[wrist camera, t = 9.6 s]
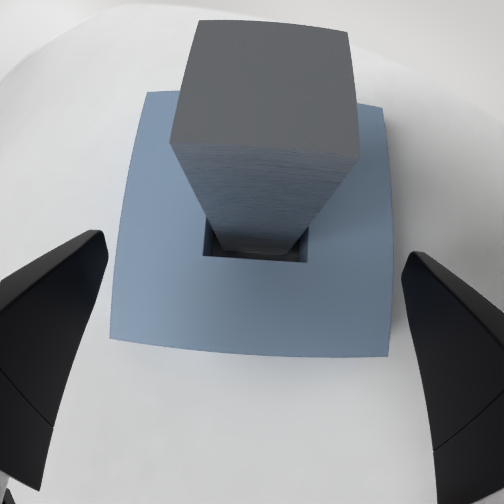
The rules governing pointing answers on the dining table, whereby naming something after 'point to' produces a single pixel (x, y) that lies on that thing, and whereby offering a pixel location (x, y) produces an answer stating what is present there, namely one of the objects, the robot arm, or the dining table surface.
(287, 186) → the grey tapered peg
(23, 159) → the dining table surface
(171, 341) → the blue square washer
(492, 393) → the robot arm
